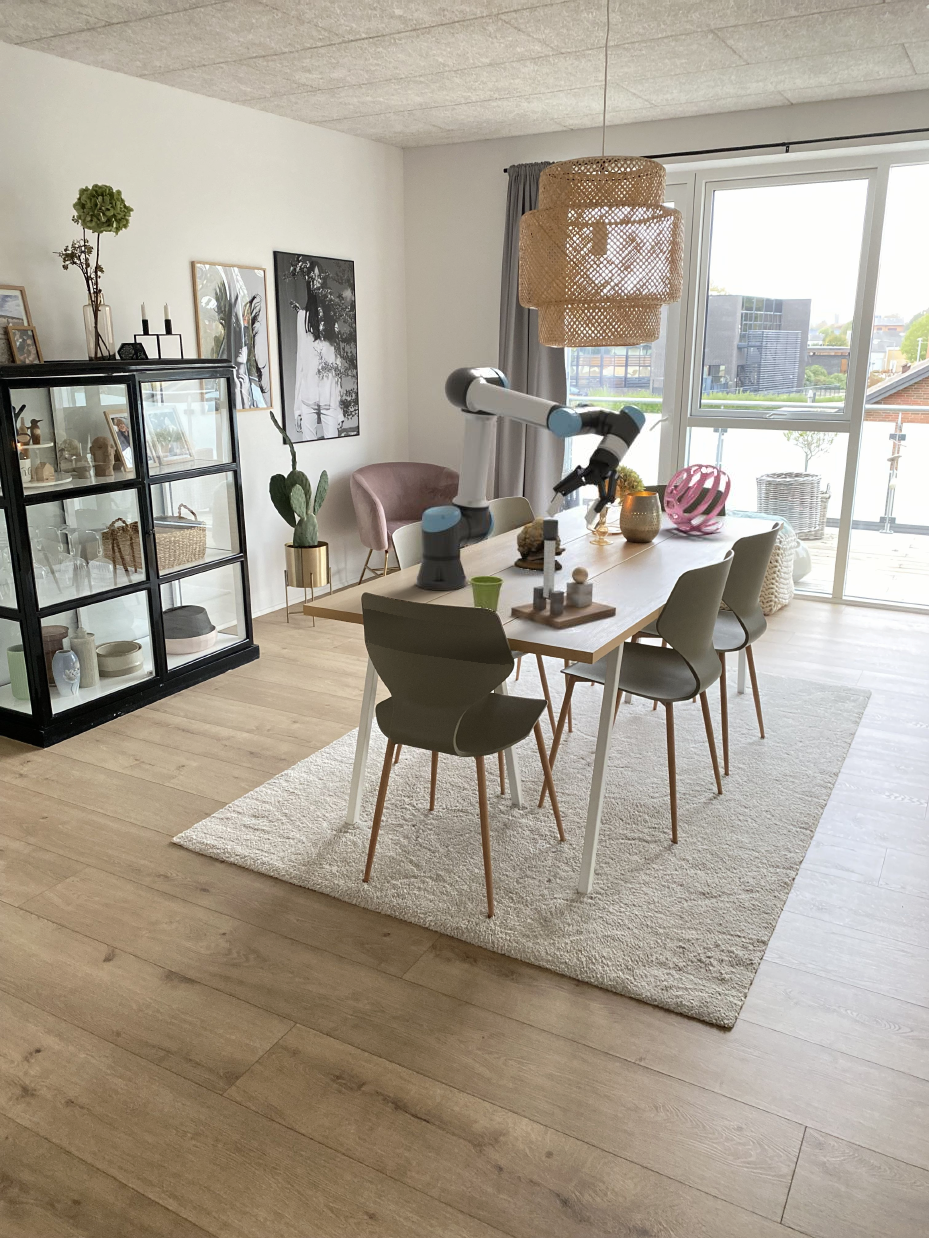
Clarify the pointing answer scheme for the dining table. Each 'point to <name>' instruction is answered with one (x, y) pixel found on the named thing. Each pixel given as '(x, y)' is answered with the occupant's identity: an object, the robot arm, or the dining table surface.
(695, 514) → the spiral basket
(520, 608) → the base
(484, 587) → the plant pot
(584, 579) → the wooden ball
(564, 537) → the dining table surface
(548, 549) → the lever
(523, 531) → the brown lumpy mound
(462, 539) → the robot arm
